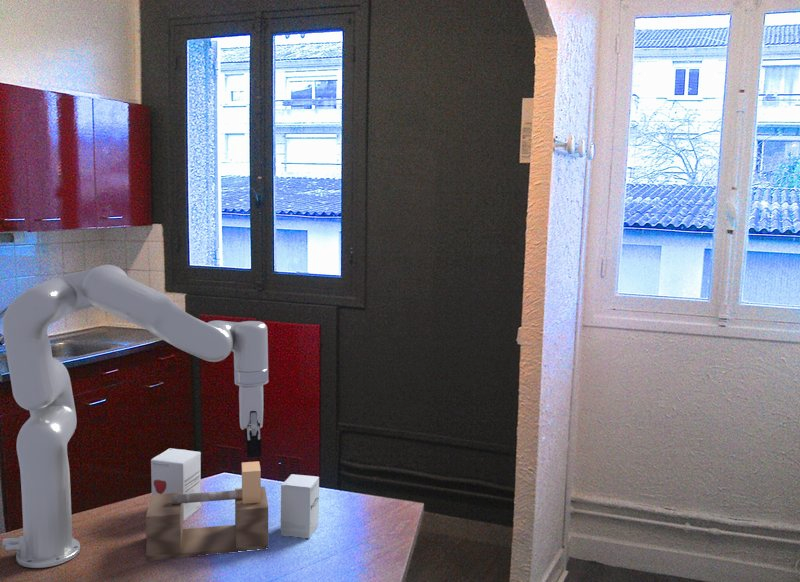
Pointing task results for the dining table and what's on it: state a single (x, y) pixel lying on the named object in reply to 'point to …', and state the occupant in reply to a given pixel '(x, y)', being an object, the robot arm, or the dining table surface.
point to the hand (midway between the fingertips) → (253, 449)
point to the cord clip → (251, 482)
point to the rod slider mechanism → (177, 542)
